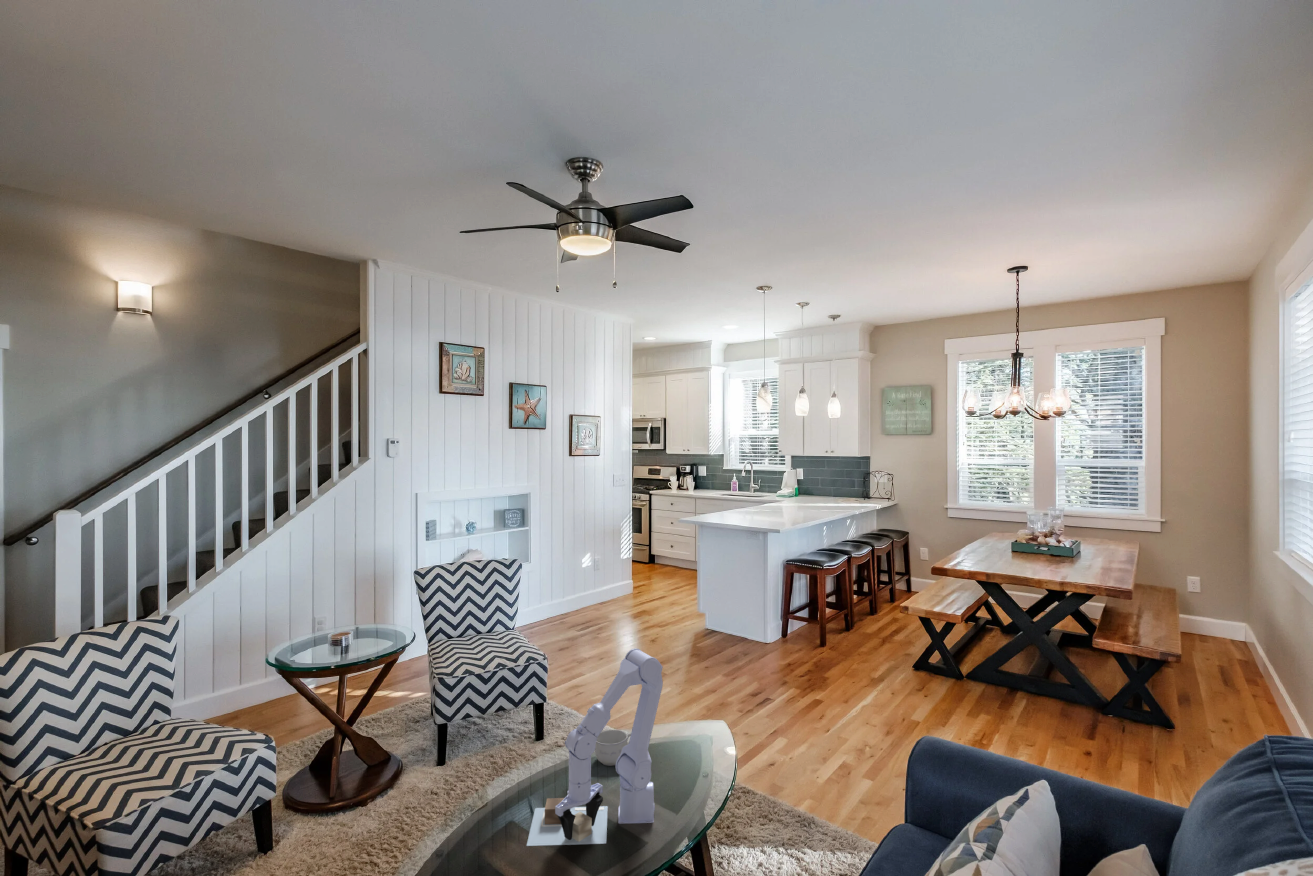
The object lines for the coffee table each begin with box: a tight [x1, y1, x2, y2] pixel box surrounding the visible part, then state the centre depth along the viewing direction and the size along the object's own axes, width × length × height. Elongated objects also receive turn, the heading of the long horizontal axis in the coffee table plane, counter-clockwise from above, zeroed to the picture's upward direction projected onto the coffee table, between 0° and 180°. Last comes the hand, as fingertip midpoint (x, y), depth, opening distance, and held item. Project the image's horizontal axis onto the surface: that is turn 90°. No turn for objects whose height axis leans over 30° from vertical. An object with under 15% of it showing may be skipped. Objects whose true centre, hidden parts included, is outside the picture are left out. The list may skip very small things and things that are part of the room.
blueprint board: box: [525, 805, 609, 847], centre depth 164 cm, size 20×16×1 cm
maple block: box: [572, 812, 592, 842], centre depth 160 cm, size 4×4×4 cm
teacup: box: [594, 729, 632, 767], centre depth 199 cm, size 14×11×8 cm
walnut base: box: [544, 797, 565, 824], centre depth 167 cm, size 5×5×4 cm
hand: (579, 831), depth 160 cm, fingers open, 7 cm apart
